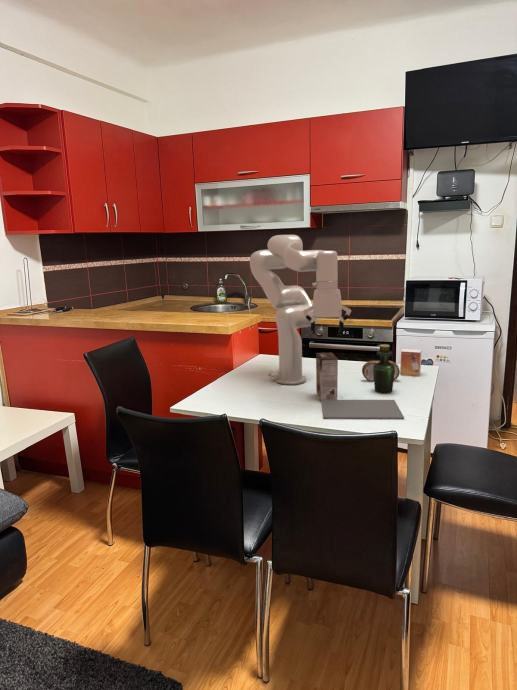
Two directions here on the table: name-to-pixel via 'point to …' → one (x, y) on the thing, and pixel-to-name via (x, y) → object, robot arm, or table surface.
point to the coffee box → (326, 376)
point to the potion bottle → (384, 371)
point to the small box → (410, 362)
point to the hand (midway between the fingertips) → (327, 332)
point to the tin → (369, 372)
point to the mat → (361, 409)
